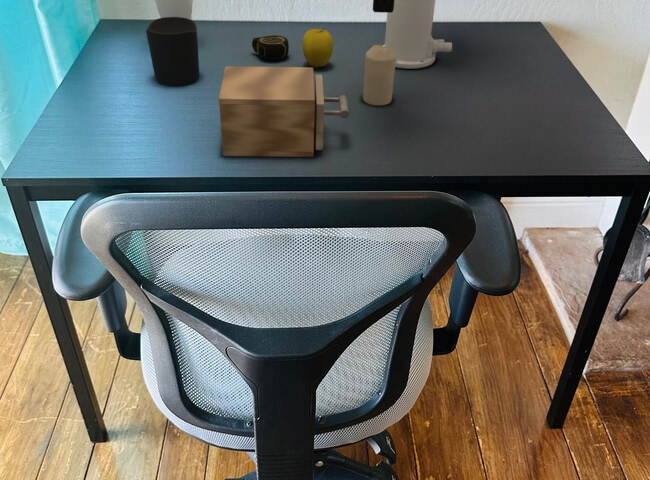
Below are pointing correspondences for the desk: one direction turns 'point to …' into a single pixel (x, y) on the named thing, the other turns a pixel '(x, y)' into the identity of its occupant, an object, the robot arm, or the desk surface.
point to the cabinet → (267, 111)
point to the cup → (175, 8)
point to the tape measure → (271, 46)
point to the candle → (379, 75)
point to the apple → (317, 47)
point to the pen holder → (174, 50)
